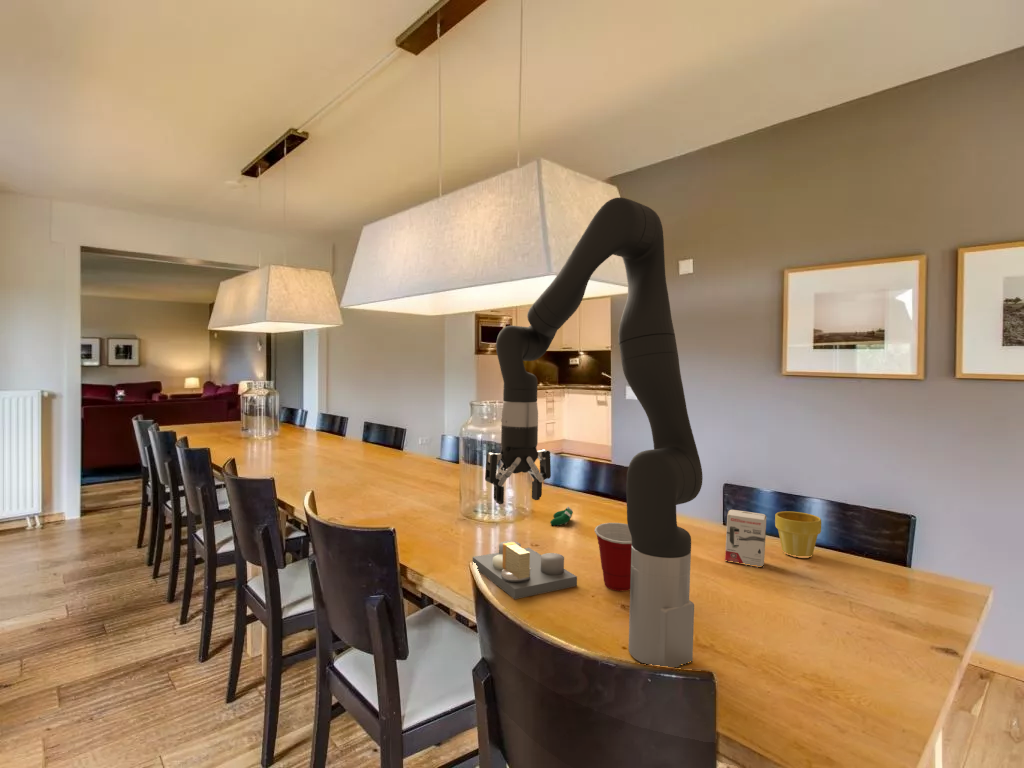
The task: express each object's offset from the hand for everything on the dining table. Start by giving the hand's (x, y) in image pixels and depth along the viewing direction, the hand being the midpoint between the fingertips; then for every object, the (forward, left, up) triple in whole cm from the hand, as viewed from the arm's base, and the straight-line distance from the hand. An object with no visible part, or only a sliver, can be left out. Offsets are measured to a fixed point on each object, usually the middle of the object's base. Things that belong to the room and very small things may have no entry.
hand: (518, 501), depth 112 cm
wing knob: (0, 0, -16) cm, 16 cm away
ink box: (-11, -57, -18) cm, 61 cm away
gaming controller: (+35, -35, -18) cm, 53 cm away
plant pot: (-13, -74, -18) cm, 77 cm away
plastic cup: (-9, -20, -18) cm, 28 cm away
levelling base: (+5, -4, -18) cm, 19 cm away
